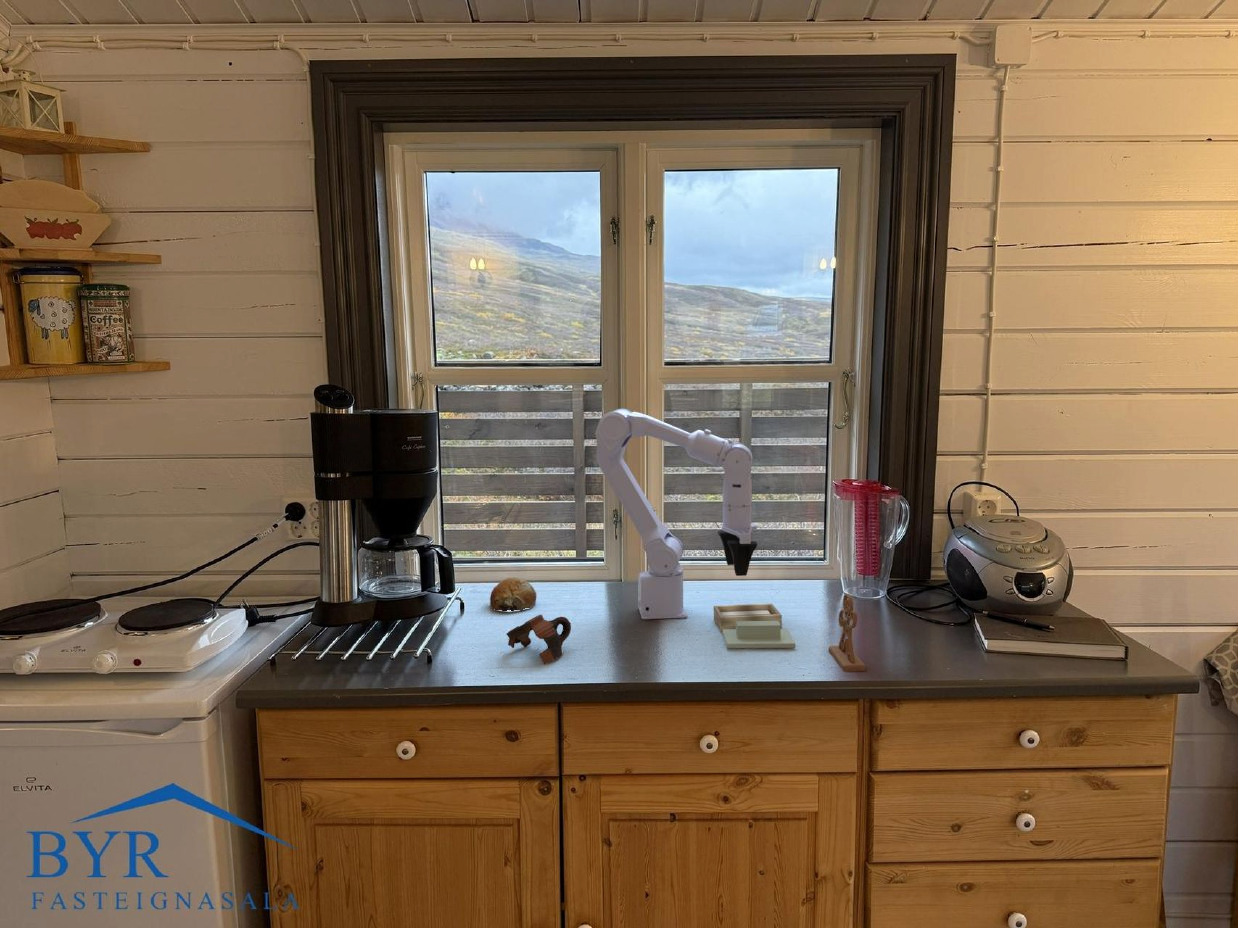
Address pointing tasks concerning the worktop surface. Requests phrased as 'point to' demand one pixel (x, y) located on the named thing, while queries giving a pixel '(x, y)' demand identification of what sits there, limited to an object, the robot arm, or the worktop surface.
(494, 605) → the bread roll
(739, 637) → the lid
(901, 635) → the worktop surface
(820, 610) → the worktop surface
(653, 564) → the robot arm
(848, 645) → the tan tall carved piece
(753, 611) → the box
